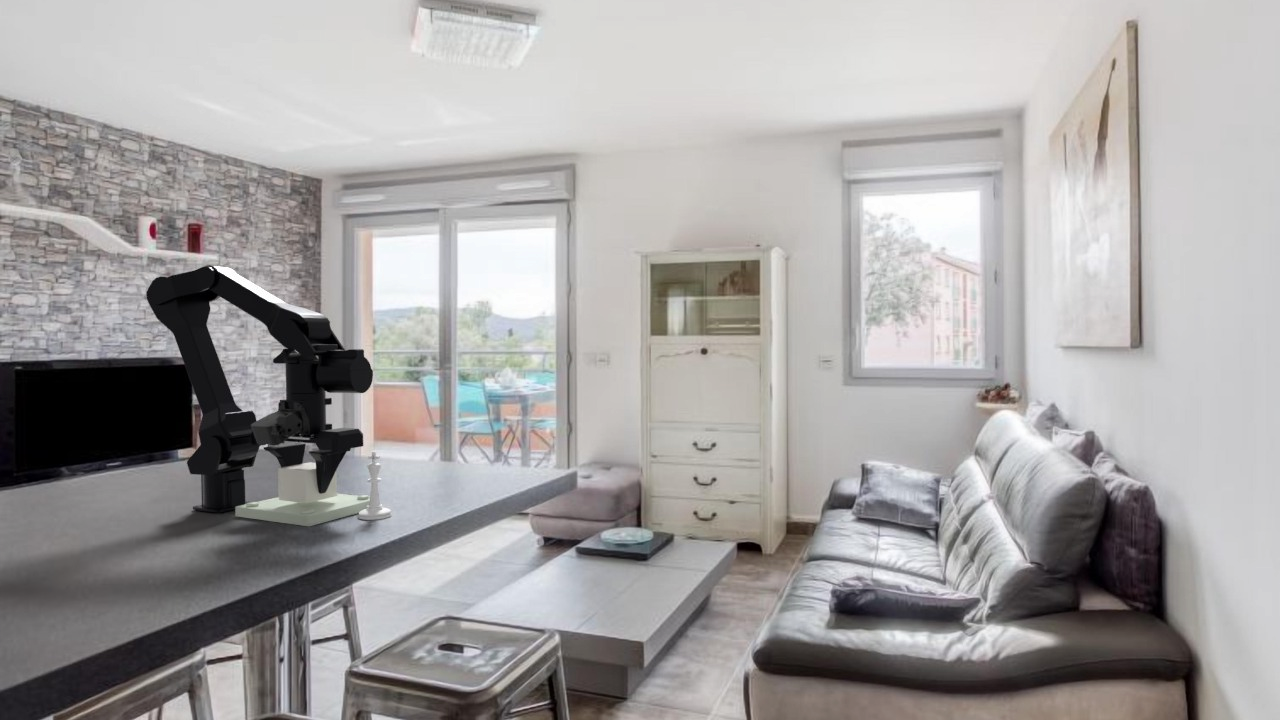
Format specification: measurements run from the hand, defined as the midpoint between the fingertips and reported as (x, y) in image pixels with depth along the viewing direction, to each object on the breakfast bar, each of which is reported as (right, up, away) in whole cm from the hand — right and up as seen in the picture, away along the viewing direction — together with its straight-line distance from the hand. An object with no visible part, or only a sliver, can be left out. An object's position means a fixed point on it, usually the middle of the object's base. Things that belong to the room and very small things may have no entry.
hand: (307, 491), depth 122 cm
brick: (0, -1, 0) cm, 1 cm away
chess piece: (+11, -4, -2) cm, 12 cm away
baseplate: (0, -3, +1) cm, 4 cm away
